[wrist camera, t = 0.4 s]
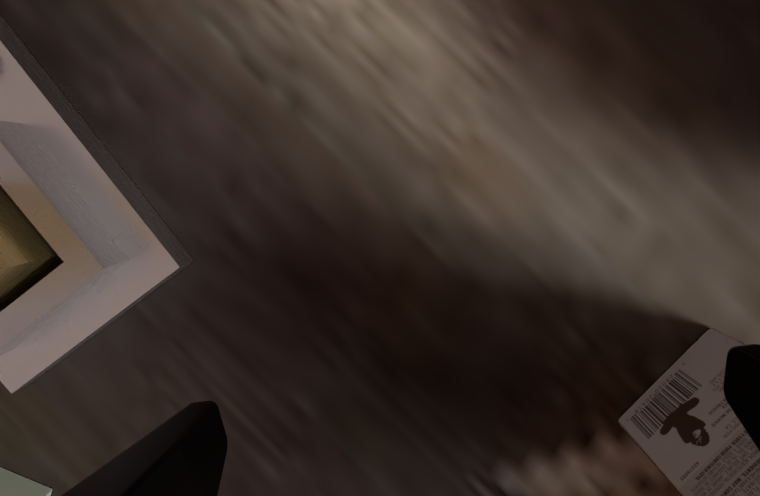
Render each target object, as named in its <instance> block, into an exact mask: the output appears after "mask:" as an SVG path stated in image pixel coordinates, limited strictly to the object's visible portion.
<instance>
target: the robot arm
mask: <svg viewBox="0 0 760 496" xmlns="http://www.w3.org/2000/svg"><path fill="white" fill-rule="evenodd" d="M723 390H724V395H725V398H726V400H727V402H728V404H729V406H730V407H731V409H732V410H733V412H734V413H735V415H736V416H737V418H738V419H739V421H740V422H741V424H742V425H743V427H744V428H745V430H746V431H747V433H748V435H749V436H750V438H751V439H752V441H753V442H754V444H755V445H756V447H757V448H758V450H759V451H760V345H758V344H751V345H742V346H734V347H732V348H731V349H729V351H728V353H727V359H726V367H725V376H724V384H723ZM226 453H227V436H226V433H225V429H224V426H223V422H222V419H221V415H220V412H219V408H218V406H217V404H216V403H215V402H213V401H204V402H194V403H191V404H189V405H188V406H186V407H185V408H184V409H182V410H181V411H179V412H178V413H177V414H175V415H174V416H172V417H171V418H170V419H168V420H167V421H165V422H164V423H163V424H161V425H160V426H158V427H157V428H156V429H154V430H153V431H151V432H150V433H149V434H147V435H146V436H144V437H143V438H141V439H140V440H139V441H137V442H136V443H134V444H133V445H132V446H130V447H129V448H127V449H126V450H125V451H123V452H122V453H120V454H119V455H118V456H116V457H115V458H113V459H112V460H111V461H109V462H108V463H106V464H105V465H104V466H102V467H101V468H99V469H98V470H97V471H95V472H94V473H92V474H91V475H90V476H88V477H87V478H85V479H84V480H83V481H81V482H80V483H78V484H77V485H76V486H74V487H73V488H71V489H70V490H69V491H67V492H66V493H64V494H63V495H61V496H217V494H218V489H219V485H220V480H221V476H222V471H223V467H224V462H225V458H226Z"/></svg>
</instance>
